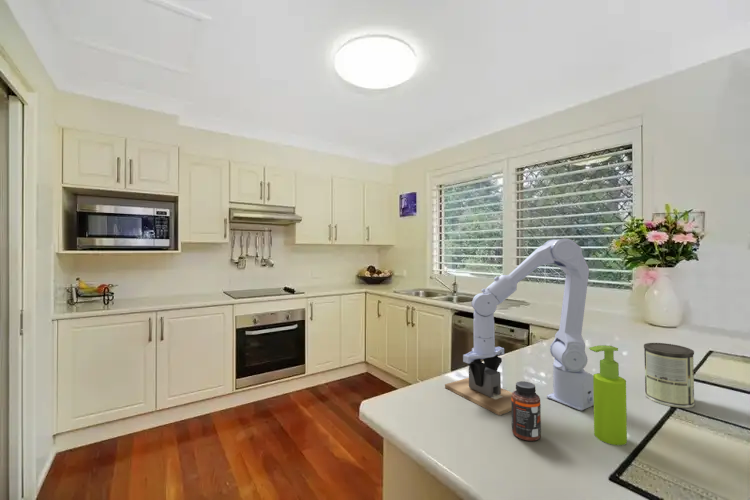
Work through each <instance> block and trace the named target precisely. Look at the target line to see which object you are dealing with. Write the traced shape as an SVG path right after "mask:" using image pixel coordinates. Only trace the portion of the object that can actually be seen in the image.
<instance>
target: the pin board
mask: <svg viewBox="0 0 750 500" xmlns="http://www.w3.org/2000/svg"><path fill="white" fill-rule="evenodd" d="M444 388H445V389H447V390H449V391H451V392H452V393H455V394H457V395H459V396H460V397H462V398H464V399H466V400H468V401H470V402H472V403H473V404H475V405H478V406H480V407H482V408H483V409H486V410H487V411H490V412H492V413H493V414H496V415H497V416H502V415H504V414H508V413H510V412H512V404H511V400H512V399H511V396H512V393H513V391H509V390H507V389H504V388H503V387H501V394H500V395H497V394H495V393H493V397H489V396H487V395H484V394H482V393H480V392H478V391H476V390H474V389H472V388H470V387H469V377H467V378H463V379H458V380H456V381H451V382H449V383H445V384H444ZM509 411H510V412H509Z"/></svg>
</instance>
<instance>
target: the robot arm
mask: <svg viewBox="0 0 750 500" xmlns="http://www.w3.org/2000/svg"><path fill="white" fill-rule="evenodd" d="M582 251H583V248H582V247H581V246H580V245H579V244H577V243H576V242H575V241H574V240H573V239H569V238H561V239H560V238H559V239H556V238H555V239H549V240H547V241H546V242H544V243H543V244H542V245H540V246H538V247H537V248H535V250H533V252H531V254H530V255H528V256H527V257H526V258H525V259H524V260H523V261H522V262H520V264H518V265H517V266H516V267H515V268H514V269H513V270H512V271H511V272H509V274H501V275H499V276H498V275H496V276H495V277H493V280H494V281H492V283H490V284H488V286H487V287H486V288H484V287H483V288H482V289H480V291H481V292H480V293H477V294H476V295H474V297H473V298H472V301H470V302H471V304H470V305H471V306H472V309H473V319H472V321H473V323H472V324H473V329H472V330H473V347H472V348H471V351H469V352H467V353H465V354H462V362H463V363H466V364H467V365H468V368H469V367H470V369H471V371H472V373H473V377H474V380H475V384H476V385H478V386H480V387H482V386H483V378H484V371H485V367H487V368H490V369H492V370H495V371H498V369H499V367H500V366H501V364H502V363H503V361H502V360H503V359H502V357H500V356H504V355H505V348H504V347H501V346H496V344H495V343H496V341H495V339H496V337H495V318H494V317H495V316H494V314H495V313H496V311H497V306H499V305H501V304H502V303H504V301H505V300H507V299H508V298H509V297H510V296H512V295H513V294H514V293H515V292H516V291H517V287H518V283H520V282H521V281H522V280H523V279H525V278H526V277H527V276H529V275H530V274H531V273H533V272H534V271H535V270H537V269H538V268H539V267H540V266H544V265H545V266H546V265H551V264H552V265H553V264H554V265H556V266H557V267H558V268H560V270H561V271H563V273H564V274H565V280H564V288H563V289H564V290H563V297H562V303H561V312H560V321H559V327H558V328H559V329H558V330H557V331H556V333H555V334H554V339H553V341H552V343H550V347H549V351H550V354H551V356H552V357H553V358H554V360H553V363H552V377H553V379H552V380H553V381H552V382H553V383H552V385H553V390H552V391H553V392H551V393H550V394H546V398H547V399H550V400H551V401H555V402H558V403H560V404H562V405H564V406H567V407H570V408H572V409H575V410H578V411H585V410H586V409H588V408H590V407H592V406H593V407H594V391H593V375H594V374H592V373H589V372H587V371H586V370H585V369H584V368H586V366H587V364H588V356H587V353H586V343H585V341H584V339H583V336H582V332H583V322H584V316H585V315H584V314H585V307H586V298H587V290H588V283H589V276H590V275H589V274H590V269H589V266H588V263H587V262H586V260H585V256H584V255H583V252H582ZM482 360H483V361H482Z"/></svg>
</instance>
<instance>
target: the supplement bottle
mask: <svg viewBox="0 0 750 500" xmlns="http://www.w3.org/2000/svg"><path fill="white" fill-rule="evenodd" d="M536 390H537V389H536V385H535V384H534V383H533V382H531V381H530V382H529V381H523V380H522V381H519V380H518V381H516V382H515V390H514V391H512V396H511V399H512V400H511V404H512V411H511V431H512V433H513V435H514V436H515V437H517V438H519V439H520V440H523V441H529V442H535V441H538V440H539V439H540V438H541V435H542V428H541V427H542V425H541V424H542V422H541V421H542V420H541V419H542V418H541V415H542V414H541V408H542V407H541V406H542V405H541V398H540V396H539V395H538V394H537V393H536Z"/></svg>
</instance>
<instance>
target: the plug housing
mask: <svg viewBox="0 0 750 500" xmlns="http://www.w3.org/2000/svg"><path fill="white" fill-rule="evenodd" d="M501 377H502V376H501V372H500V371H498V370H497V371H495V370H492V369H490V368H487V367H485V371H484V378H483V386H482V387H480V386H478V385H476V384H475V380H474V377H473V373H472V371H471V369H470V367H469V366H468V378H469V387H470V388H472V389H474V390H476V391H478V392H480V393H482V394H484V395H487V396H489V397H493V393H495V394H497V395H500V394H501V388H502V386H501Z"/></svg>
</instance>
